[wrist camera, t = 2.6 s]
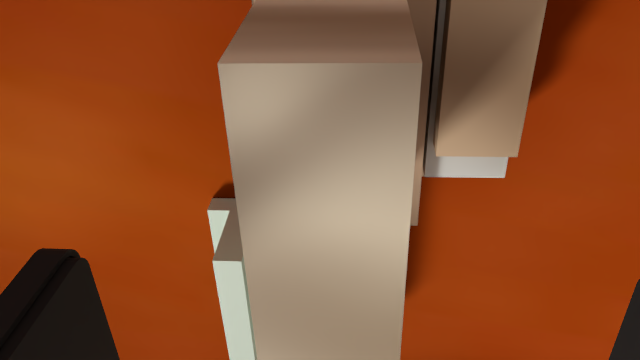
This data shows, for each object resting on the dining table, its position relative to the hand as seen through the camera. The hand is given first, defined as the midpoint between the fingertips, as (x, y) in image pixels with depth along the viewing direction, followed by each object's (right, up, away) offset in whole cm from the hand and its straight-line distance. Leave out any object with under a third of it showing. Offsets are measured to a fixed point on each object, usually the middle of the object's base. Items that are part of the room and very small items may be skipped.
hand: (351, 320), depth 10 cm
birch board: (0, +8, +11) cm, 14 cm away
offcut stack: (+5, +8, +11) cm, 14 cm away
